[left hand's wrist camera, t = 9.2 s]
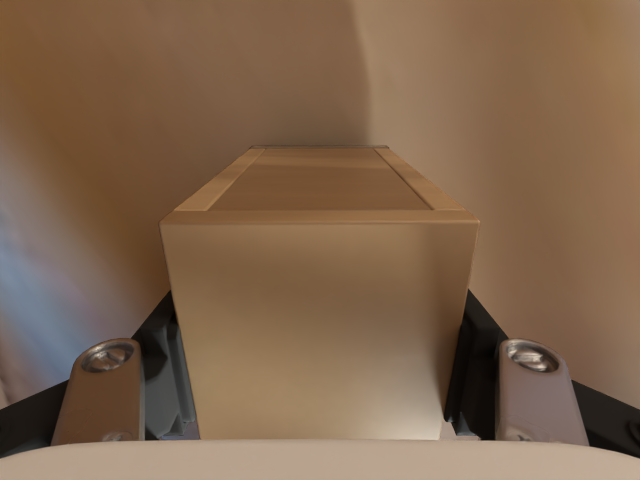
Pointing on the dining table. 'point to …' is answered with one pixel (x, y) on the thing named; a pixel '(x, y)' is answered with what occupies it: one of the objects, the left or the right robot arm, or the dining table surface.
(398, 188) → the wooden crate box
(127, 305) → the dining table surface
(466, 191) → the dining table surface
